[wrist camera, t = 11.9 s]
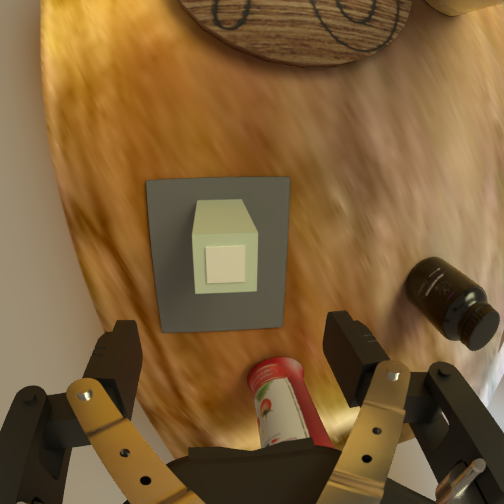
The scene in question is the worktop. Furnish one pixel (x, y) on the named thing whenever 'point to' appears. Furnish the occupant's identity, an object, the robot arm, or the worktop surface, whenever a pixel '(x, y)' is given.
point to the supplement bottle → (452, 303)
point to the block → (224, 247)
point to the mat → (181, 253)
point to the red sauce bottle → (284, 403)
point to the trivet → (302, 27)
